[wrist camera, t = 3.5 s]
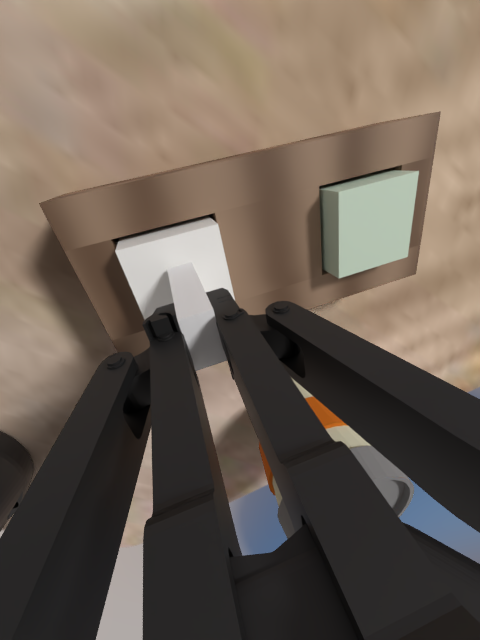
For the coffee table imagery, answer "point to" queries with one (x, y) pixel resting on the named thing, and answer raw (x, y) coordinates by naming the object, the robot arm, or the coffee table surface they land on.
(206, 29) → the coffee table surface
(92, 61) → the coffee table surface
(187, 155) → the coffee table surface
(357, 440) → the reusable coffee cup
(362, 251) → the sage key
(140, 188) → the key panel
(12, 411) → the coffee table surface
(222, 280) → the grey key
